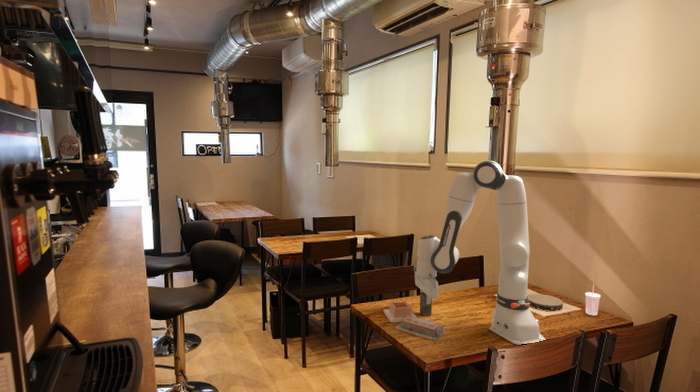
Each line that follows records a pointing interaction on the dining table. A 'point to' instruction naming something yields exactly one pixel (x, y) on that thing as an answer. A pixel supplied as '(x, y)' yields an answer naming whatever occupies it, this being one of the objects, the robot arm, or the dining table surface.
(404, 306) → the square socket base
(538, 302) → the grey round disc
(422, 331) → the packaged product
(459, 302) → the dining table surface
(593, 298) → the beverage cup
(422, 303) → the peg
